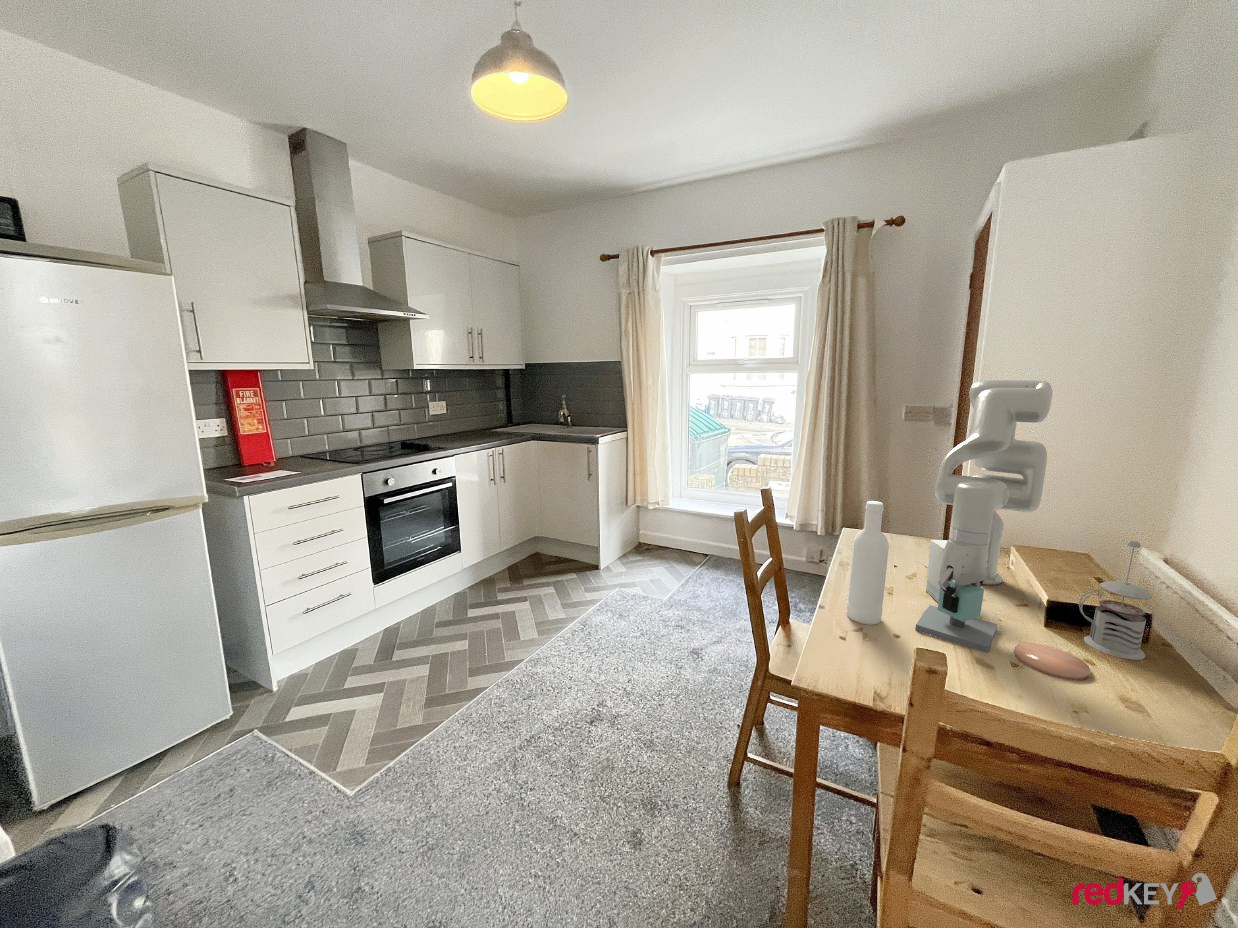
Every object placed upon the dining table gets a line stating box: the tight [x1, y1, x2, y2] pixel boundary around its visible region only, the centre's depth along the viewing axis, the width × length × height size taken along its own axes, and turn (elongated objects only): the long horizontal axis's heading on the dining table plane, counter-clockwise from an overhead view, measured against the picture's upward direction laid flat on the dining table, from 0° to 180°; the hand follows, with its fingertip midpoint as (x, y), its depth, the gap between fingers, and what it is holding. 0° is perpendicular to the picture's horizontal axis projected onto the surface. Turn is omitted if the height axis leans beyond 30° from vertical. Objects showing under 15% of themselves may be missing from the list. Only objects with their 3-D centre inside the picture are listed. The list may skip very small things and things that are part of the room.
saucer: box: [1013, 642, 1091, 681], centre depth 101 cm, size 12×12×1 cm
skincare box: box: [925, 539, 953, 603], centre depth 130 cm, size 8×7×16 cm
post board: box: [915, 604, 998, 654], centre depth 113 cm, size 14×14×10 cm
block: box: [937, 580, 985, 622], centre depth 113 cm, size 6×6×7 cm
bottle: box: [846, 500, 890, 626], centre depth 118 cm, size 8×8×30 cm
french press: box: [1078, 540, 1153, 660], centre depth 105 cm, size 10×12×25 cm
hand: (959, 607), depth 113 cm, fingers closed on block, 5 cm apart
